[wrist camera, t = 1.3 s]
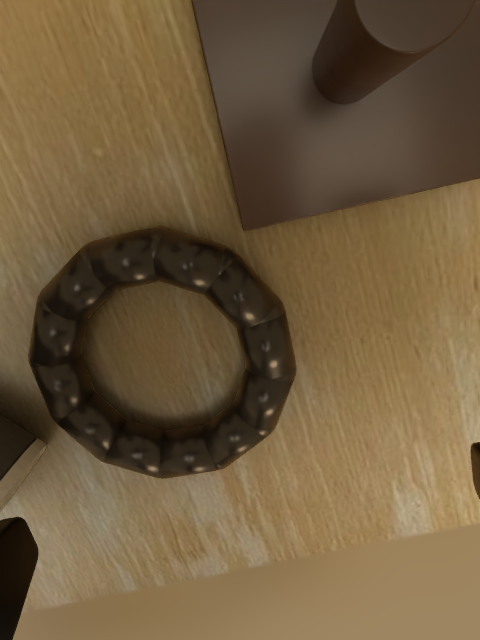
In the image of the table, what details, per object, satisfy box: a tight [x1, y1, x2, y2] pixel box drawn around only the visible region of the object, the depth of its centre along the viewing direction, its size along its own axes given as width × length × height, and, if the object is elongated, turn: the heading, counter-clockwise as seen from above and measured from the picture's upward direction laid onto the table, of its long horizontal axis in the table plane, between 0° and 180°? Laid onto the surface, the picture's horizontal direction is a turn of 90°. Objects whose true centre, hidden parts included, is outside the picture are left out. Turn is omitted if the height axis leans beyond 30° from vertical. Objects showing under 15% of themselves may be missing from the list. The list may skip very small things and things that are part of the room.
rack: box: [191, 0, 480, 231], centre depth 11 cm, size 8×8×8 cm
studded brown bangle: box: [28, 227, 296, 479], centre depth 17 cm, size 10×10×2 cm
